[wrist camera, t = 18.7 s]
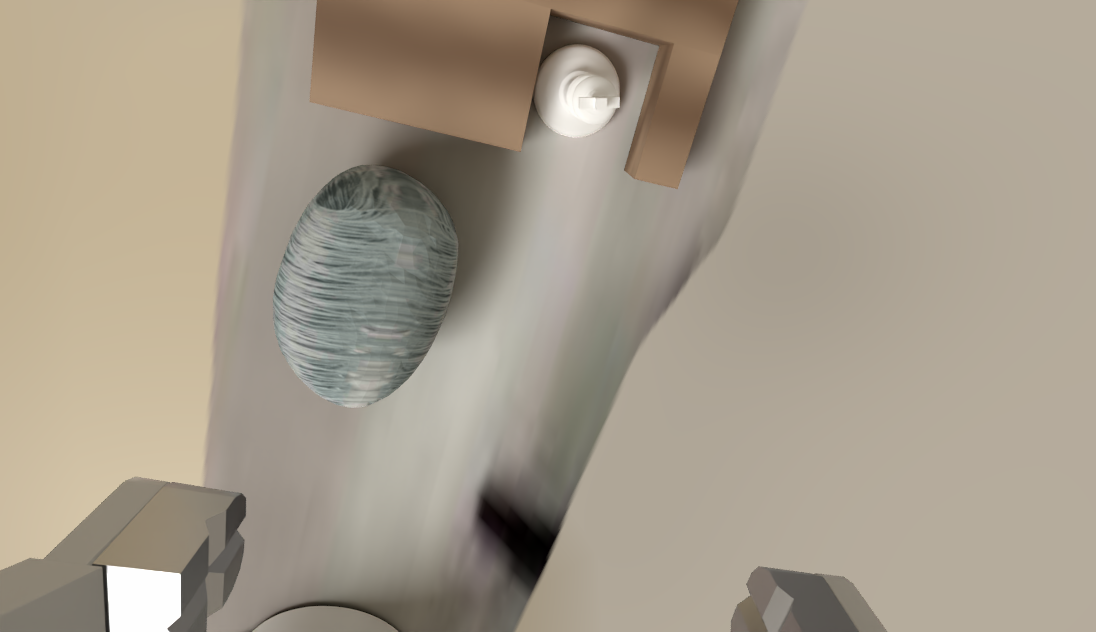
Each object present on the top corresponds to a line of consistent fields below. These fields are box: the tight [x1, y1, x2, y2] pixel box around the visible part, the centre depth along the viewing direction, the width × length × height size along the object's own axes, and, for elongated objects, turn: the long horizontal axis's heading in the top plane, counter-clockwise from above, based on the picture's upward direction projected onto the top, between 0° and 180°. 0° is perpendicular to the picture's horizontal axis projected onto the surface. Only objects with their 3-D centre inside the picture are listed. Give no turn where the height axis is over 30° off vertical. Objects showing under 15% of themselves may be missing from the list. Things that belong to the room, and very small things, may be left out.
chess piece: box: [533, 44, 620, 137], centre depth 28 cm, size 5×5×10 cm
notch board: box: [310, 0, 738, 189], centre depth 29 cm, size 12×20×3 cm, turn 76°
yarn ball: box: [273, 165, 458, 408], centre depth 32 cm, size 14×10×10 cm
